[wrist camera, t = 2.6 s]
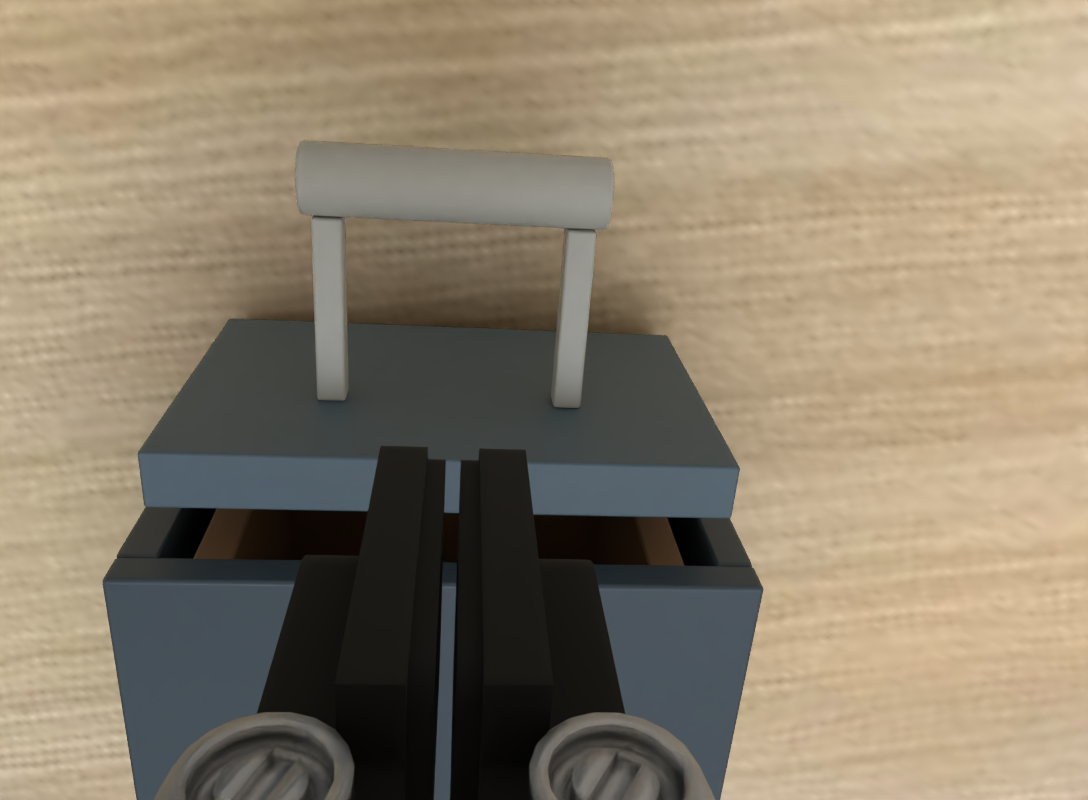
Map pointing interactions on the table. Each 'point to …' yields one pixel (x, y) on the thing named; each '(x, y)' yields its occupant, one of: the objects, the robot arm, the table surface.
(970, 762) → the table surface
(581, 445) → the drawer
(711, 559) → the cabinet
